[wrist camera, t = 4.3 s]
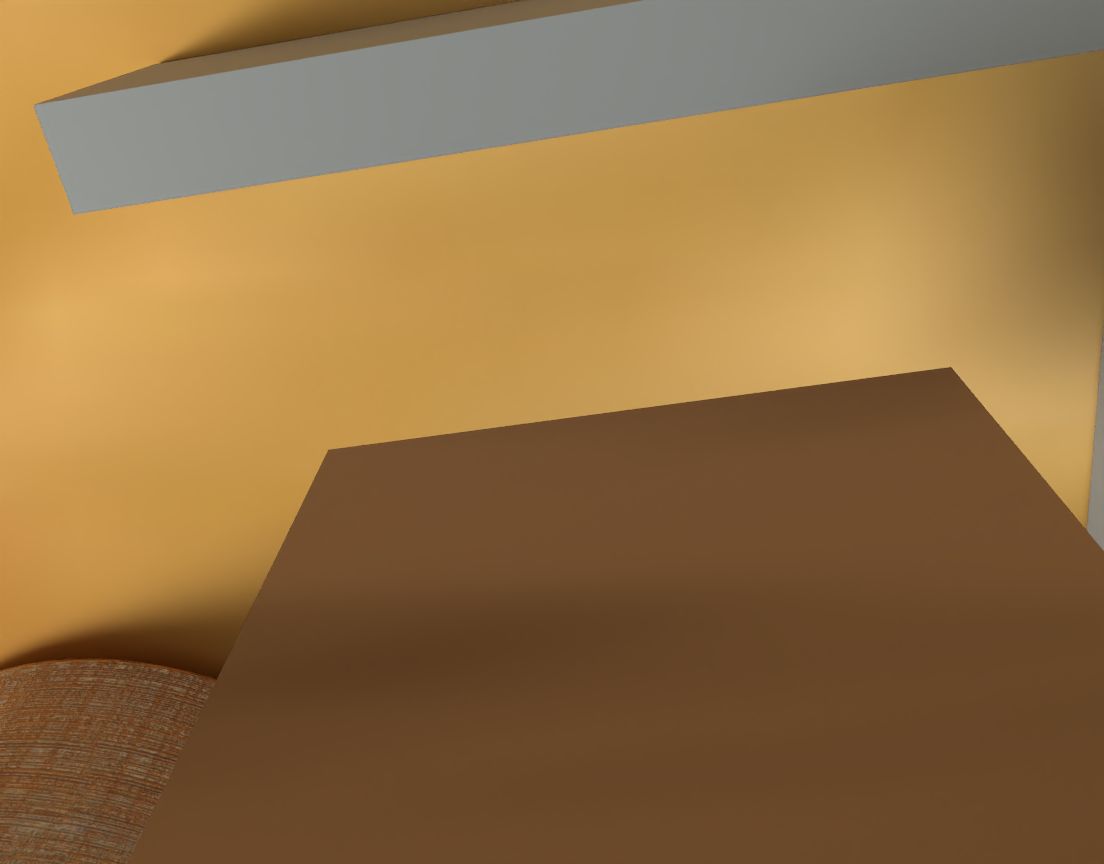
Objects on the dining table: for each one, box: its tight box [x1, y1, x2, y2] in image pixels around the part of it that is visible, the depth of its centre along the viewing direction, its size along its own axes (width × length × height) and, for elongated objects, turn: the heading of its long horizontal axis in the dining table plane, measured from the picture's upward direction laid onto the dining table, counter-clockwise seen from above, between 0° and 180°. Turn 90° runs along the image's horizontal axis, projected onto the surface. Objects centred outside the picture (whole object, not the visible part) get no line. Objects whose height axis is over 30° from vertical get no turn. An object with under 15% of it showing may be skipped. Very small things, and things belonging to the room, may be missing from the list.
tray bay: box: [33, 0, 1104, 551], centre depth 17 cm, size 22×14×4 cm, turn 9°
